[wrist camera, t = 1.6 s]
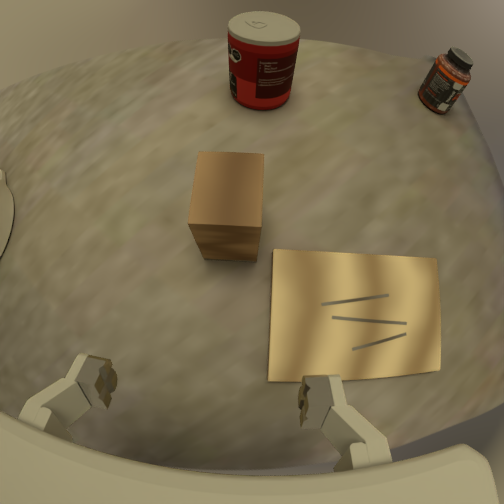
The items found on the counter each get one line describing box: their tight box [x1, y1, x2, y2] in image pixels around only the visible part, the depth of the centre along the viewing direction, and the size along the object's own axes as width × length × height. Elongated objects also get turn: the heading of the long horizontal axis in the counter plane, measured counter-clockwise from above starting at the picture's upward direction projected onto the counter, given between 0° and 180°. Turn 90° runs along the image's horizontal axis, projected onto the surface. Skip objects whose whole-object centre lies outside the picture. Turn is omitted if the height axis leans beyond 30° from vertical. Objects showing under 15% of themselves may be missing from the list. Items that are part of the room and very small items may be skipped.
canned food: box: [228, 11, 300, 110], centre depth 30 cm, size 8×8×11 cm
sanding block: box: [188, 152, 264, 262], centre depth 25 cm, size 5×6×9 cm
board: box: [267, 249, 441, 382], centre depth 27 cm, size 18×12×1 cm, turn 87°
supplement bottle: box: [419, 47, 473, 114], centre depth 32 cm, size 6×6×11 cm
